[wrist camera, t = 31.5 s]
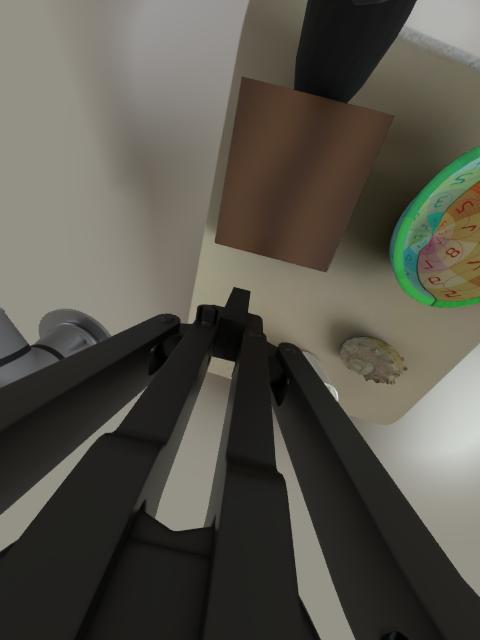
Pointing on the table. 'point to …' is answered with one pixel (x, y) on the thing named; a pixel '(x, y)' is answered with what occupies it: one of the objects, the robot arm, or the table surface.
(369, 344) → the seashell
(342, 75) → the portable speaker
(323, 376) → the candle holder
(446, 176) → the bowl
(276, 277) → the table surface
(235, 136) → the lid
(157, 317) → the robot arm
